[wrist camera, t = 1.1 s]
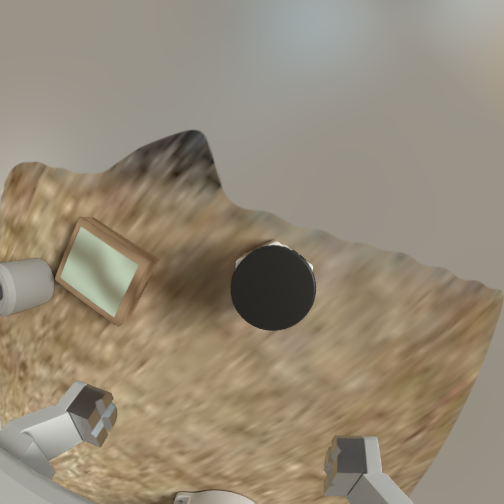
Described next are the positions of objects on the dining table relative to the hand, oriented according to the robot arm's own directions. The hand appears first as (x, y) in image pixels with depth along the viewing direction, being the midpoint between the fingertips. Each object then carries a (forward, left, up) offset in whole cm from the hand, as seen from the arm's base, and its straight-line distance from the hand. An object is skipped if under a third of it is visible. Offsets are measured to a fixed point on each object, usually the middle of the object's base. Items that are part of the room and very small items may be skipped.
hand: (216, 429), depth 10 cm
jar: (+2, -1, -33) cm, 33 cm away
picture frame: (-9, +19, -32) cm, 38 cm away
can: (-18, +30, -33) cm, 47 cm away
